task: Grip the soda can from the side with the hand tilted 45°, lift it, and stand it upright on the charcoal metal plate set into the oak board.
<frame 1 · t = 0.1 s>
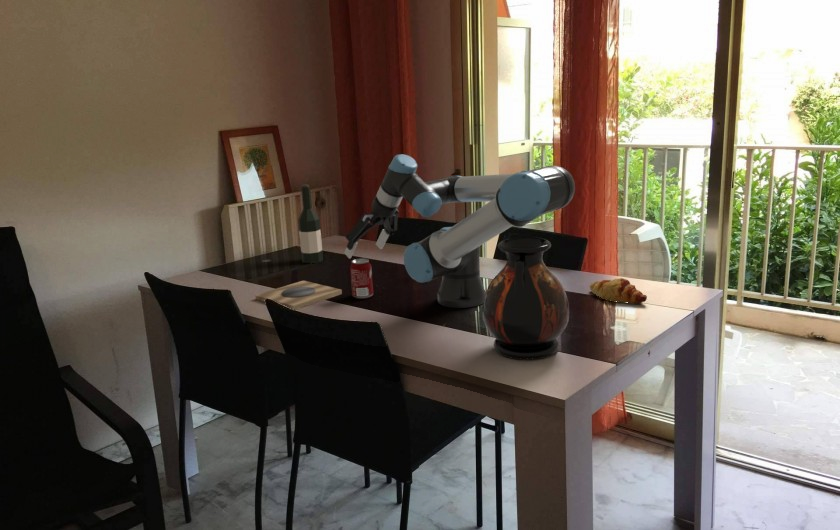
hand: (363, 251, 233), 15 cm above the table, tool tilted 35°, fingers open, 13 cm apart
soda can: (363, 297, 237), on the table
ceramic vase: (526, 350, 186), on the table
oak board: (298, 296, 240), on the table
croissant: (617, 299, 222), on the table
wine bottle: (312, 261, 285), on the table
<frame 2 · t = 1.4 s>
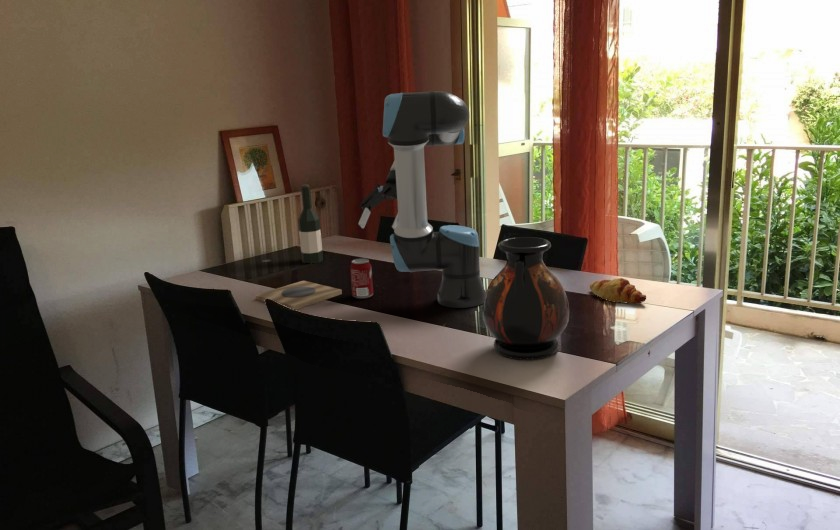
hand: (377, 227, 240), 20 cm above the table, tool tilted 45°, fingers open, 13 cm apart
nothing on the table moved.
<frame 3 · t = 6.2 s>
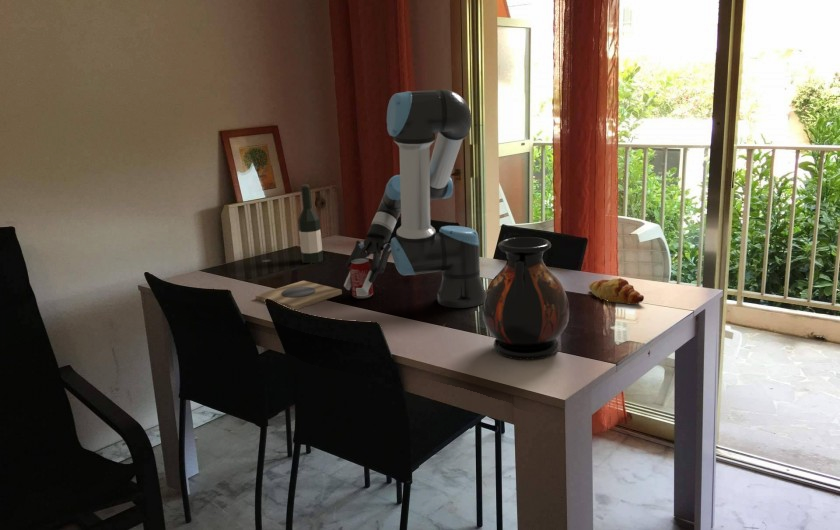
hand: (355, 289, 233), 3 cm above the table, tool tilted 45°, fingers closed on soda can, 7 cm apart
soda can: (363, 296, 237), on the table, touching gripper
everything else where it was.
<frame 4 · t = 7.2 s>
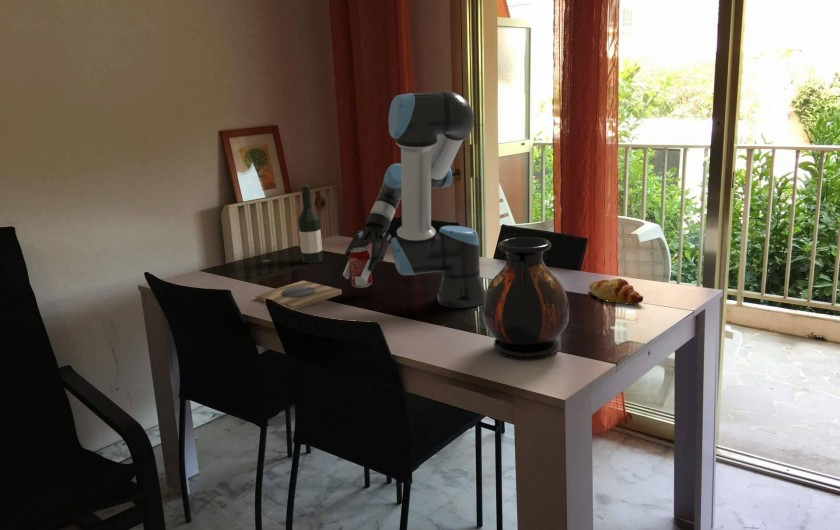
hand: (354, 277, 233), 7 cm above the table, tool tilted 45°, fingers closed on soda can, 7 cm apart
soda can: (362, 286, 236), point 3 cm above the table, touching gripper
everything else where it was.
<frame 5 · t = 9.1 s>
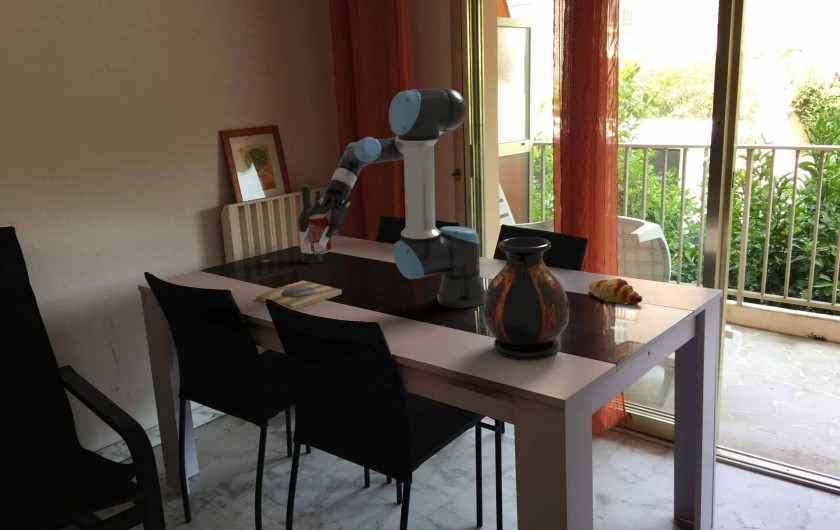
hand: (312, 244, 235), 18 cm above the table, tool tilted 45°, fingers closed on soda can, 7 cm apart
soda can: (321, 252, 239), point 14 cm above the table, touching gripper
everything else where it was.
when the fingers open (6 cm above the table, at t = 12.3 s): soda can drops 1 cm, resting on oak board.
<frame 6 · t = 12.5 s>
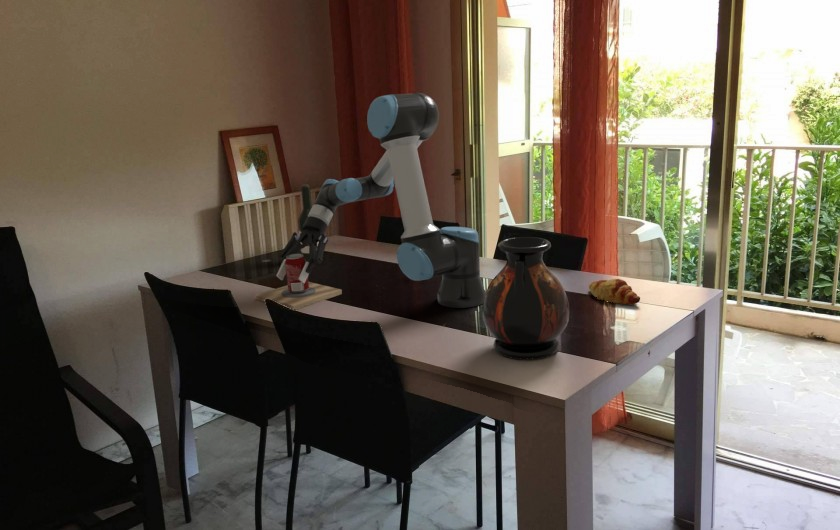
hand: (290, 279, 236), 7 cm above the table, tool tilted 45°, fingers open, 9 cm apart
soda can: (299, 291, 240), point 2 cm above the table, touching oak board
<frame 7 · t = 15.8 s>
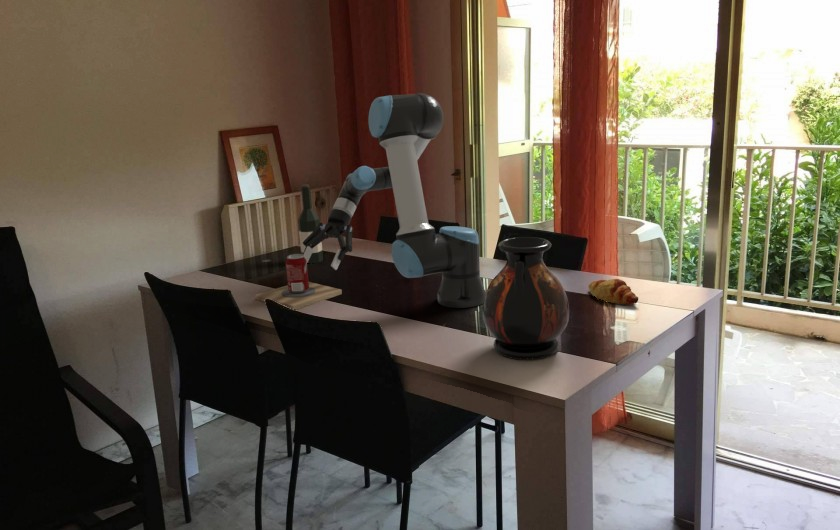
hand: (318, 266, 247), 8 cm above the table, tool tilted 45°, fingers open, 13 cm apart
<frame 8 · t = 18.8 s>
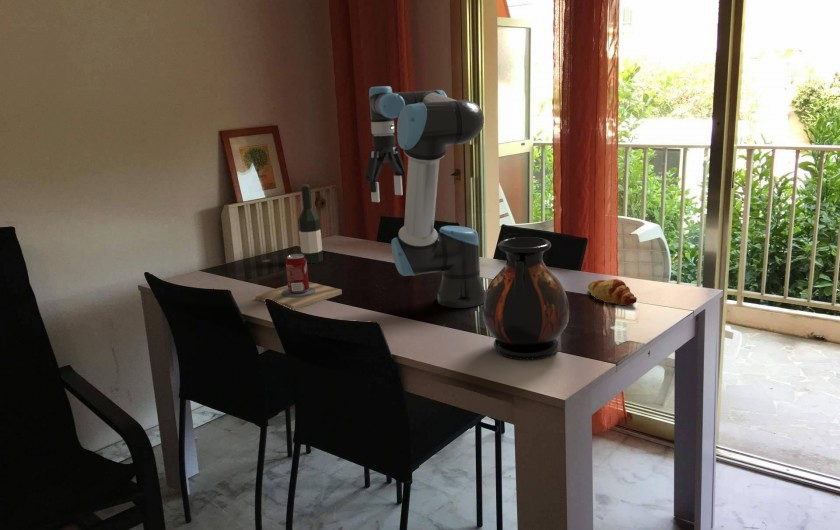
hand: (387, 198, 246), 29 cm above the table, tool pointing down, fingers open, 13 cm apart
at the end: soda can 0.3 cm off-centre on the oak board, point 1.6 cm above the oak board's base; soda can tilted 0°; the gripper is holding nothing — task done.
